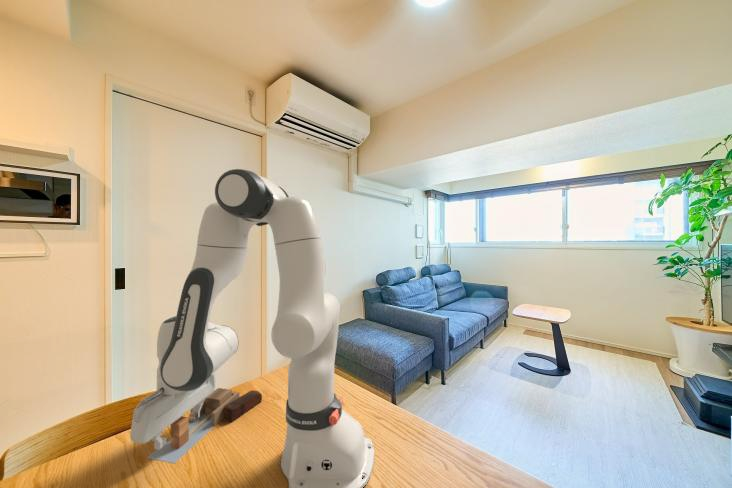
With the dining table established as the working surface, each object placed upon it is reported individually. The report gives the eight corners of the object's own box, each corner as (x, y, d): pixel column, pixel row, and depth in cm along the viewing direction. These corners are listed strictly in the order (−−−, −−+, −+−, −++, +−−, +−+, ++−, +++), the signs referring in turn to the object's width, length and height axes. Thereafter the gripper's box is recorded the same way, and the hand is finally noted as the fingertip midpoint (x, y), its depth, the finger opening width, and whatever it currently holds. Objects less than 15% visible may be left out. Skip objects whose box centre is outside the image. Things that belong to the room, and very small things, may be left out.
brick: (231, 427, 71) (231, 410, 71) (222, 422, 72) (222, 406, 72) (262, 405, 80) (262, 390, 80) (253, 401, 82) (253, 387, 82)
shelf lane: (239, 406, 79) (239, 392, 79) (174, 467, 58) (174, 448, 58) (217, 403, 81) (217, 389, 81) (146, 461, 59) (146, 443, 59)
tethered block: (231, 405, 78) (231, 386, 78) (183, 449, 62) (183, 425, 62) (218, 403, 79) (218, 384, 79) (166, 446, 63) (166, 422, 63)
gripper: (146, 406, 53) (145, 471, 53) (220, 361, 73) (219, 407, 73) (122, 402, 54) (122, 465, 54) (201, 358, 74) (201, 404, 74)
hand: (178, 431), depth 64 cm, fingers open, 8 cm apart
